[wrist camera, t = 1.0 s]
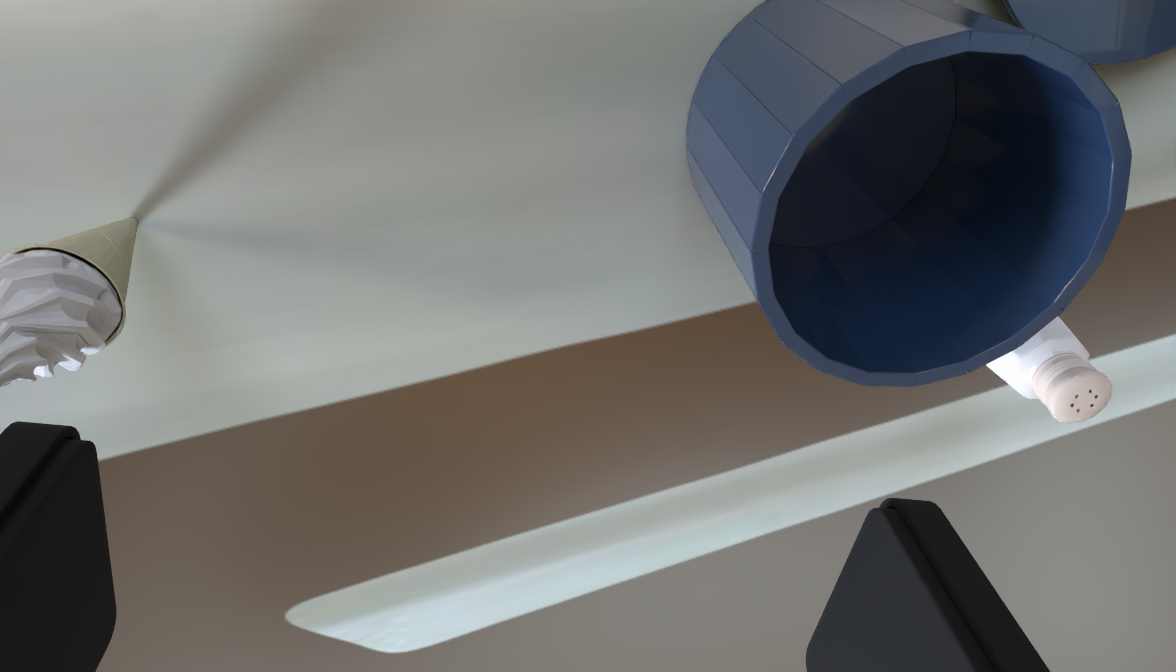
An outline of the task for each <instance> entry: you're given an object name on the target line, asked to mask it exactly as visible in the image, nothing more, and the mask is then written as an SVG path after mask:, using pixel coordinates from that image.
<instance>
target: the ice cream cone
mask: <svg viewBox="0 0 1176 672" xmlns="http://www.w3.org/2000/svg"><path fill="white" fill-rule="evenodd" d="M137 225H138V222H137V220H136V219H134V218H127V219H124V220H120V221H117V222H114V223H110V224H107V225H104V226H100V227H97V228H94V229H90V230H87V231H84V232H81V233H78V234H75V235H72V236H68V237H65V238H62V239H58V240H55V241H52V242H48V243H45V244H42V245H31V246H24V247H21V248H18V249H15V250H13V251H11V252H9V253H7V254H5V255H4V256H3V257H2V258H1V259H0V387H1V386H4V385H7V384H10V382H11V381H12V380H15V379H18V380H25V381H36V377H35V375H34V374H37V375H40V376H42V377H54V373H53V368H54V366H55V365H56V364H59V365H61V366H63V367H65V368H66V369H68V370H70V371H78V370H79V369H80V368H81V366H82V364H83V363H84V361H85V359H86V357H85V356H84V355H82V354H95V353H97V352H98V351H100V350H102V349H104V348H105V347H106V346H108V345H109V344H111V343H112V342H113V341H114V340H115V339H116V338H117V337H118V335H119V334H120V333H121V330H122V328H123V326H124V322H125V317H126V311H125V299H126V294H127V287H128V281H129V275H130V269H131V262H132V256H133V250H134V243H135V237H136V231H137Z"/></svg>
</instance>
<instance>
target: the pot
mask: <svg viewBox="0 0 1176 672" xmlns="http://www.w3.org/2000/svg"><path fill="white" fill-rule="evenodd" d="M1131 152H1132V151H1131V147H1130V143H1129V139H1128V135H1127V131H1126V127H1125V123H1124V119H1123V115H1122V111H1121V107H1120V103H1119V102H1118V99H1117V98H1116V96H1115V95H1114V94H1113V93H1112V91H1111V90H1110V89H1109V88H1108V86H1107V85H1106V84H1105V83H1104V81H1103V80H1102V79H1101V78H1100V76H1099V75H1098V74H1097V73H1096V71H1095V70H1094V69H1093V67H1092V66H1091V65H1090V64H1089V62H1088V61H1087V60H1085V58H1083V57H1081V56H1079V55H1077V54H1075V53H1073V52H1071V51H1069V50H1067V49H1065V48H1063V47H1061V46H1059V45H1057V44H1055V43H1053V42H1051V41H1049V40H1047V39H1045V38H1043V37H1041V36H1039V35H1037V34H1034V33H1032V32H1029V31H1026V30H1024V29H1021V28H1018V27H1016V26H1013V25H1011V24H1008V23H1005V22H1003V21H1000V20H997V19H995V18H992V17H989V16H987V15H984V14H981V13H979V12H976V11H974V10H971V9H968V8H966V7H963V6H960V5H958V4H955V3H952V2H950V1H947V0H767V1H766V2H764V3H763V4H761V5H760V6H758V7H757V8H756V9H754V10H753V11H752V12H751V13H749V14H748V15H747V16H746V17H745V18H744V19H743V20H741V21H740V22H739V23H738V24H737V25H736V26H735V27H734V28H733V30H732V31H731V32H730V33H729V34H728V35H727V36H726V37H725V38H724V40H723V41H722V42H721V44H720V45H719V47H718V48H717V49H716V51H715V52H714V54H713V55H712V56H711V58H710V60H709V62H708V64H707V65H706V67H705V69H704V71H703V73H702V75H701V77H700V80H699V82H698V85H697V87H696V90H695V92H694V95H693V99H692V103H691V107H690V110H689V116H688V124H687V156H688V164H689V169H690V172H691V176H692V179H693V185H694V188H695V190H696V192H697V194H698V195H699V197H700V199H701V201H702V203H703V205H704V206H705V208H706V210H707V212H708V214H709V215H710V217H711V219H712V221H713V223H714V224H715V226H716V228H717V230H718V232H719V233H720V235H721V237H722V239H723V241H724V243H725V244H726V246H727V248H728V250H729V252H730V253H731V255H732V257H733V259H734V261H735V262H736V264H737V266H738V268H739V270H740V271H741V273H742V275H743V277H744V279H745V281H746V282H747V284H748V286H749V288H750V290H751V291H752V293H753V295H754V297H755V299H756V300H757V302H758V304H759V305H760V307H761V309H762V311H763V313H764V314H765V316H766V318H767V319H768V321H769V323H770V324H771V326H772V328H773V330H774V332H775V333H776V335H777V337H778V338H779V340H780V342H782V344H783V345H785V346H786V347H787V348H789V349H790V350H791V351H793V352H794V353H795V354H796V355H798V356H799V357H800V358H801V359H803V360H804V361H805V362H807V363H808V364H809V365H810V366H812V367H813V368H814V369H816V370H818V371H819V372H822V373H825V374H828V375H832V376H835V377H838V378H841V379H844V380H847V381H850V382H853V383H856V384H859V385H864V386H896V387H897V386H898V387H901V386H902V387H914V386H920V385H924V384H928V383H932V382H937V381H940V380H945V379H949V378H953V377H957V376H961V375H965V374H967V373H970V372H972V371H974V370H976V369H978V368H980V367H982V366H984V365H986V364H988V363H990V362H992V361H994V360H996V359H998V358H1000V357H1002V356H1004V355H1006V354H1008V353H1010V352H1012V351H1014V350H1016V349H1017V348H1018V347H1021V346H1022V345H1023V344H1024V343H1026V342H1027V341H1028V340H1029V339H1031V338H1032V337H1033V336H1034V335H1035V334H1037V333H1038V332H1039V331H1040V330H1041V329H1043V328H1044V327H1045V326H1046V325H1048V324H1049V323H1050V322H1051V321H1052V320H1054V319H1055V318H1056V317H1057V316H1059V315H1060V314H1061V313H1062V312H1063V311H1064V309H1066V308H1067V307H1068V306H1069V304H1070V303H1071V302H1072V301H1073V299H1074V298H1075V297H1076V295H1077V294H1078V293H1079V292H1080V290H1081V289H1082V288H1083V286H1084V285H1085V284H1086V283H1087V281H1088V280H1089V279H1090V277H1091V276H1092V275H1093V274H1094V272H1095V271H1096V270H1097V268H1098V267H1099V266H1100V265H1101V263H1102V262H1103V260H1104V258H1105V255H1106V253H1107V251H1108V248H1109V246H1110V244H1111V242H1112V239H1113V237H1114V235H1115V233H1116V230H1117V228H1118V226H1119V223H1120V221H1121V219H1122V217H1123V214H1124V212H1125V208H1126V200H1127V192H1128V183H1129V175H1130V167H1131V158H1132V155H1131Z"/></svg>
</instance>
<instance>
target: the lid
mask: <svg viewBox="0 0 1176 672" xmlns="http://www.w3.org/2000/svg"><path fill="white" fill-rule="evenodd" d="M1001 1H1002V3H1003V4H1004V6H1005V8H1006V10H1007V12H1008V14H1009V15H1010V17H1011V18H1012V20H1013V21H1014V22H1015V23H1016V25H1017V26H1018V27H1019V28H1021V29H1024V30H1026V31H1029V32H1032V33H1034V34H1037V35H1039V36H1041V37H1043V38H1045V39H1047V40H1049V41H1051V42H1053V43H1055V44H1057V45H1059V46H1061V47H1063V48H1065V49H1067V50H1069V51H1071V52H1073V53H1075V54H1077V55H1079V56H1081V57H1083V58H1085V60H1087V61H1088V62H1089V64H1117V63H1127V62H1131V61H1136V60H1140V59H1145V58H1148V57H1151V56H1154V55H1157V54H1160V53H1163V52H1166V51H1168V50H1170V49H1172V48H1174V47H1176V0H1001Z"/></svg>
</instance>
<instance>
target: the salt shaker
mask: <svg viewBox="0 0 1176 672" xmlns="http://www.w3.org/2000/svg"><path fill="white" fill-rule="evenodd" d="M1088 358H1089V353H1088V352H1087V350H1086V349H1085V348H1084V347H1083V345H1082V344H1081V343H1080V342H1079V340H1078V339H1077V338H1076V337H1075V336H1074V334H1073V333H1072V332H1071V331H1070V330H1069V328H1068V327H1067V326H1066V325H1065V324H1064V323H1063V321H1062V320H1061V319H1060V318H1059V317H1058V316H1057V317H1056V318H1055V319H1054V320H1052V321H1051V322H1050V323H1049V324H1048V325H1046V326H1045V327H1044V328H1043V329H1041V330H1040V331H1039V332H1038V333H1037V334H1035V335H1034V336H1033V337H1032V338H1031V339H1029V340H1028V341H1027V342H1026V343H1024V344H1023V345H1022V346H1021V347H1018V348H1017V349H1016V350H1014V351H1012V352H1010V353H1008V354H1006V355H1004V356H1002V357H1000V358H998V359H996V360H994V361H992V362H990V363H988V364H986V366H988V367H989V368H990V369H991V370H992V371H994V372H995V373H996V374H997V375H998V376H1000V377H1001V378H1002V379H1003V380H1005V381H1006V382H1007V383H1008V384H1009V385H1010V386H1012V387H1013V388H1014V389H1015V390H1016V391H1018V392H1019V393H1020V394H1022V395H1023V396H1024V397H1026V398H1027V399H1037V398H1039V399H1040V400H1041V401H1042V402H1043V404H1044V405H1045V406H1046V407H1048V409H1049V411H1050V413H1051V414H1052V415H1053V416H1054V417H1055V418H1056V419H1057V420H1059V421H1061V422H1066V423H1076V422H1081V421H1085V420H1087V419H1089V418H1091V417H1093V416H1095V415H1096V414H1098V413H1099V412H1100V411H1101V410H1102V409H1103V408H1104V407H1105V406H1106V404H1107V403H1108V401H1109V399H1110V397H1111V392H1112V385H1111V381H1110V380H1109V379H1108V377H1107V376H1105V375H1104V374H1103V373H1101V372H1099V371H1097V370H1096V369H1095V368H1094V367H1093V366H1092V365H1091V364H1090V363H1089V362H1087V361H1088Z"/></svg>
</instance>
